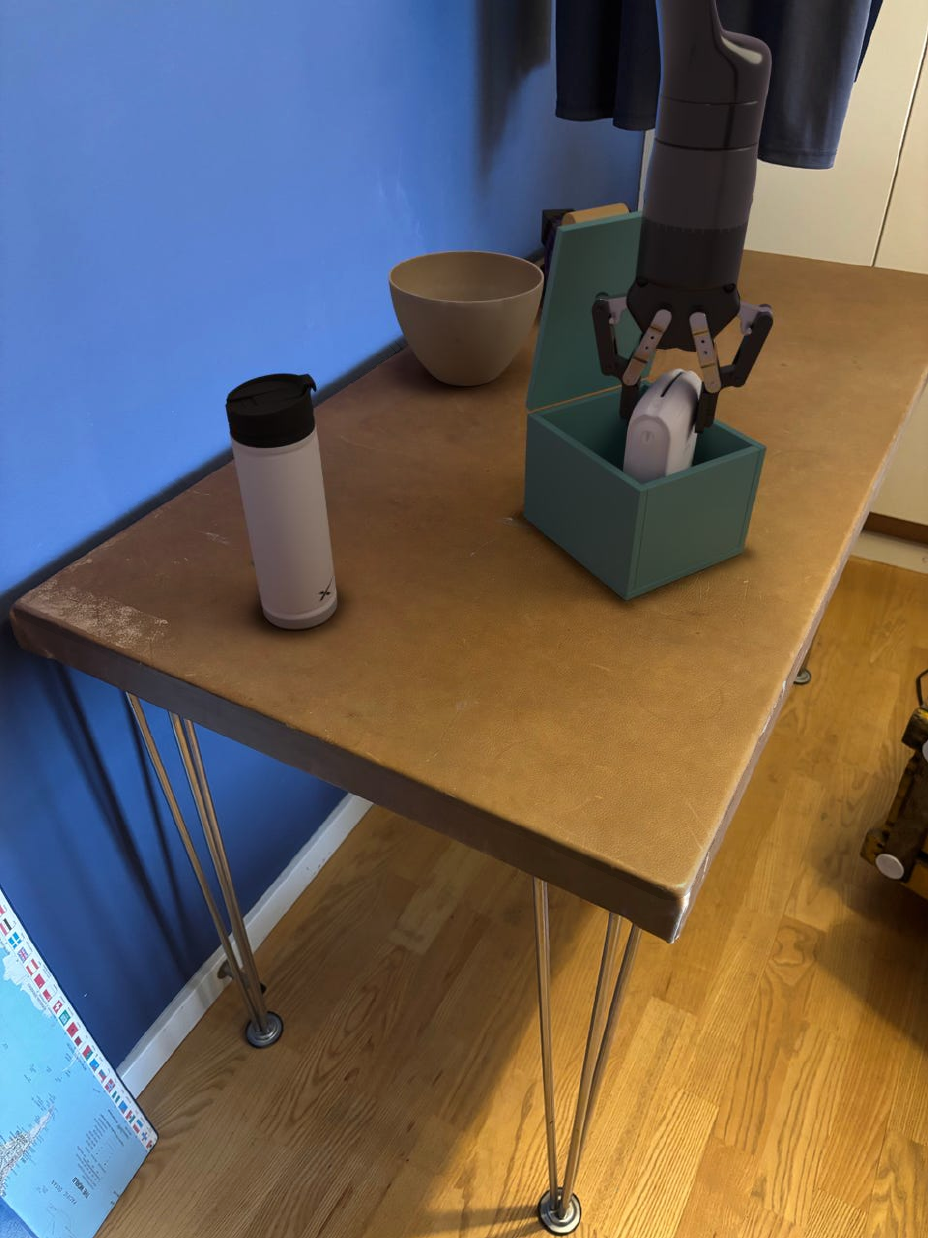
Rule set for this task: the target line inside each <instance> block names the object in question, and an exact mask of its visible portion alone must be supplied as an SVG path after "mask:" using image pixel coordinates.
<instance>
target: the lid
mask: <svg viewBox="0 0 928 1238" xmlns="http://www.w3.org/2000/svg"><path fill="white" fill-rule="evenodd" d="M627 207H628V206H627V205H626V204H625V203H623V202H618V203H613V204H607V205H602V206H597V208H596V207H592V208H587V209H581V210H575V212H570V213H567V214H565V215H564V217H563V220H562V226H559V227H557V232H556V238H555V243H554V249H553V255H552V260H551V266H550V271H549V277H548V282H547V288H546V293H545V299H544V304H543V303H542V311H541V315H540V322H539V327H538V333H537V337H536V342H535V343H536V344H535V349H534V355H533V361H532V366H531V372H530V376H529V383H528V387H527V392H526V393H527V394H526V398H525V404H524V407H525V408H526V409H527V410H528V411H529V412H532V411H536V410H538V409H539V410H540V409H542V408H545V407H546V408H547V407H549V406H552V405H553V406H554V405H555V404H556V405H557V404H559V403H562V402H563V403H564V402H567V401H571V400H573V399H577V398H580V397H585V396H587V395H592V394H594V393H599V392H600V391H601V392H602V391H605V390H609V389H611V388H614V387H615V388H616V387H619V386H622V383H621V381H620V380H619V379H618V378H616V377H614V376H612V375H611V376H605V375H604V374H603V373H602V372H601V367H600V361H599V355H598V349H597V343H596V337H595V330H594V324H593V318H592V312H591V309H592V306H593V303H594V300H595V297H596V295H597V294H598V293H600V292H606V293H607V294H608V295H609V296H611V295H617V294H623V293H628V290H629V288H630V287H631V286H632V284H633V282H634V280H635V275H636V266H637V257H638V247H639V238H640V229H641V220H642V211H643V209H642V210H636V211H632V212H631V213H629V210H628V208H629V207H628V208H627ZM614 327H615V334H616V340H617V347H618V354H619V355H620V356H622V357H624V358H626V359H629V357H630V355H631V353H632V351H633V349H634V347H635V345H636V342H637V340H638V338H639V336H640V334H641V330H640V328H639V327H638V325H637V323H636V322H635V320H634V318H633V317H632V315H631V313H630V312H629V310H628V308H627V309H625V310H623V311H622V313H621V318H620V321H619V323H618V324H616V325H614ZM657 350H658V349H656V348H655V350H654V352H653V354H652V356H651V358H650V360H649V361H648V363H647V364H646V366H645V367H644V369H643V371H642V373H641V375H640V376H641V379H643V380H644V379H646V378H649V377H650V374H651V371H652V367H653V364H654V361H655V357H656V354H657Z"/></svg>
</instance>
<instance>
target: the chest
mask: <svg viewBox="0 0 928 1238" xmlns="http://www.w3.org/2000/svg"><path fill="white" fill-rule="evenodd" d="M652 383H653V382H651V381H649V380H648V379H643V380H641V382H640V390H639V398H638V402H639V401H640V399H641V398H642V396H643V395H644V393H645V392H646V391H647V390H648V388H649V387H650V385H651V384H652ZM621 390H622V386H617V387H615V388H612V389H611V388H610V389H607V390H603V391H601V392H597V393H595V394H594V393H593V394H590V395H588V396H587V395H586V396H583V397H581V398H580V397H579V398H578V399H577V398H576V399H574V400H573V399H572V400H569V401H566V402H563V403H560V404H556V405H553V406H550V407H549V406H548V407H546V408H543V409H542V408H541V409H539V410H534V411H533V412H532V411H531V412H529V413H527V414H526V434H525V435H526V437H525V438H526V439H525V460H524V462H525V463H524V490H523V513H522V514H523V516H522V517H523V518H524V519H525V520H527V521H528V522H529V523H530V524H532V525H533V526H534V527H535V528H536V529H538V530H539V531H540V532H541V533H543V534H544V535H545V536H546V537H547V538H549V539H550V540H551V541H552V542H553V543H554V544H556V545H557V546H558V547H560V548H561V549H562V550H563V551H565V552H566V553H567V554H568V555H569V556H571V558H573V559H574V560H575V561H577V562H578V563H579V564H580V565H581V566H583V567H584V568H585V569H587V570H588V571H589V572H590V573H591V574H592V575H593V576H595V578H597V579H598V580H600V581H601V582H602V583H603V584H604V585H606V586H607V587H608V588H609V589H610V590H612V591H613V592H614V593H615V594H617V595H618V596H619V597H620V598H622V600H624V601H629V600H632V599H634V598H637V597H639V596H642V595H643V594H646V593H649V592H651V591H653V590H656V589H658V588H660V587H663V586H665V585H668V584H670V583H673V582H675V581H677V580H680V579H683V578H685V577H687V576H691V575H692V574H695V573H697V572H700V571H702V570H704V569H707V568H709V567H712V566H714V565H717V564H719V563H722V562H724V561H726V560H729V559H731V558H734V557H737V556H739V555H742V554H743V553H744V551H745V546H746V541H747V537H748V532H749V528H750V523H751V518H752V515H753V510H754V505H755V501H756V497H757V492H758V489H759V483H760V480H761V476H762V475H761V474H762V470H763V465H764V461H765V456H766V452H767V449H768V447H767V446H766V445H764V444H763V443H761V442H759V441H757V440H755V439H754V438H752V437H750V436H748V435H746V434H744V433H743V432H741V431H739V430H737V429H735V428H734V427H732V426H730V425H729V424H726V423H725V422H723V421H721V420H720V419H718V418H716V417H714V422H713V424H712V425H711V427H710V428H708V427H704V430H703V434H699V433H697V438H696V444H695V450H694V456H693V462H692V467H690V468H688V469H685V470H682V471H679V472H676V473H673V474H670V475H668V476H665V477H662V478H659V479H656V480H653V481H650V482H647V483H645V484H642V485H641V484H640V483H638V482H637V481H635V480H634V479H633V478H631V477H630V476H628V475H627V474H625V473H624V472H623V467H624V458H625V449H626V441H627V432H628V426H626V422H627V420H626V419H621V418H620V415H619V409H620V400H621Z"/></svg>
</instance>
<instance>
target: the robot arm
mask: <svg viewBox="0 0 928 1238" xmlns="http://www.w3.org/2000/svg"><path fill="white" fill-rule="evenodd" d="M654 1H655V9H656V19H657V20H656V21H657V30H658V40H659V41H658V42H659V54H660V81H659V90H658V99H657V107H656V116H655V123H654V124H655V127H654V133H653V135H654V137H653V142H652V148H651V152H650V156H649V160H648V165H647V170H646V177H645V184H644V191H643V196H642V197H643V200H642V201H643V203H642V210H643V211H642V220H641V229H640V238H639V247H638V257H637V266H636V275H635V280H634V282H633V284H632V286H631V287H630V288H629V290H628V293H623V294H617V295H611V296H609V295H608V294H607V293H606V292H600V293H598V294H597V295H596V297H595V300H594V303H593V306H592V309H591V312H592V318H593V324H594V330H595V337H596V343H597V349H598V355H599V361H600V367H601V372H602V373H603V374H604V375H605V376H611V375H612V376H614V377H616V378H618V379H619V380H620V381H621V383H622V385H621V387H622V390H621V400H620V409H619V415H620V418H621V419H626V420H627V422H626V426H629V422H630V419H631V417H632V414H633V411H634V409H635V407H636V406H637V404H638V398H639V390H640V382H641V381H642V380H641V376H640V375H641V373H642V371H643V369H644V367H645V366H646V364H647V363H648V361H649V360H650V358H651V356H652V354H653V352H654V350H655V348H656V349H657V350H662V351H663V350H664V351H667V350H673V349H678V350H680V351H684V352H687V353H696V355H697V359H698V364H699V367H700V369H701V374H702V378H703V381H702V380H701V382H702V383H701V389H700V395H699V401H698V407H697V414H696V420H695V429H694V433H699V434H703V430H704V427H708V428H710V427H711V425H712V424H713V422H714V418H716V417H715V416H716V410H717V406H718V400H719V395H720V393H721V391H722V390H724V389H726V388H730V387H734V388H737V389H738V388H742V387H743V386H744V385H745V384H746V382H747V380H748V378H749V376H750V374H751V371H752V370H753V367H754V365H755V364H756V361H757V359H758V357H759V355H760V353H761V351H762V348H763V346H764V344H765V342H766V340H767V338H768V336H769V334H770V332H771V330H772V328H773V325H774V312H773V308H772V306H771V305H770V304H768V303H761V304H760V305H756V304H752V303H749V302H746V301H743V300H741V296H740V293H739V290H738V282H739V278H740V271H741V270H740V269H741V265H742V261H743V260H742V259H743V254H744V248H745V243H746V238H747V237H746V236H747V232H748V227H749V221H750V214H751V210H752V206H753V203H754V202H753V201H754V193H755V187H756V180H757V170H758V149H759V143H760V142H759V141H760V135H761V130H762V124H763V118H764V113H765V108H766V101H767V96H768V92H769V88H770V87H769V86H770V79H771V74H772V64H773V63H772V52H771V49H770V48H769V46H768V44H767V43H765V42H764V41H763V40H761V39H759V38H756V37H754V36H751V35H748V34H744V33H739V32H733V31H730V30H726V29H724V28H723V26H722V23H721V20H720V16H719V13H718V9H717V4H716V0H654ZM627 308H628V310H629V312H630V313H631V315H632V317H633V318H634V320H635V322H636V323H637V325H638V327H639V328H640V330H641V334H640V336H639V338H638V340H637V342H636V345H635V347H634V349H633V351H632V353H631V355H630V357H629V359H626V358H624V357H622V356H620V355H619V354H618V347H617V340H616V334H615V327H614V325H616V324H618V323H619V321H620V318H621V313H622V311H623V310H625V309H627ZM736 317H737V318H738V319H739V320H740V325H739V326H740V327H739V328H740V333H741V334H742V335H743V337H742V340H741V342H740V345H739V346H738V349H737V350H736V353H735V355H734V357H733V360H732V362H731V364H727V365H723V366H721V363H720V359H719V354H718V347H717V341H716V338H717V336H719V335H720V333H721V332H722V331H723V330H725V328H726V327H727V326H728V325H730V323H731V322H732V321H733V320H734V319H735V318H736Z"/></svg>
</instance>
